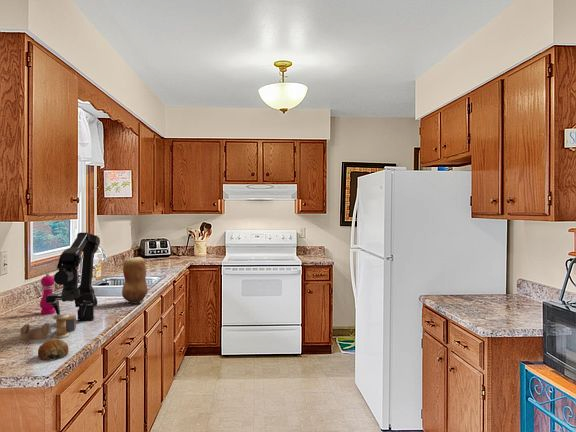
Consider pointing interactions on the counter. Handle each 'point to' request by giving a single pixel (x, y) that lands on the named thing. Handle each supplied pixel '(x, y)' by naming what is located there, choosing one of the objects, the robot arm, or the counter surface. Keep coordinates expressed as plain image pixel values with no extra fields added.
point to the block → (71, 323)
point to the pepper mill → (47, 289)
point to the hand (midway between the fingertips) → (70, 317)
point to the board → (35, 332)
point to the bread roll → (53, 349)
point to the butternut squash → (134, 280)
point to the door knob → (61, 326)
